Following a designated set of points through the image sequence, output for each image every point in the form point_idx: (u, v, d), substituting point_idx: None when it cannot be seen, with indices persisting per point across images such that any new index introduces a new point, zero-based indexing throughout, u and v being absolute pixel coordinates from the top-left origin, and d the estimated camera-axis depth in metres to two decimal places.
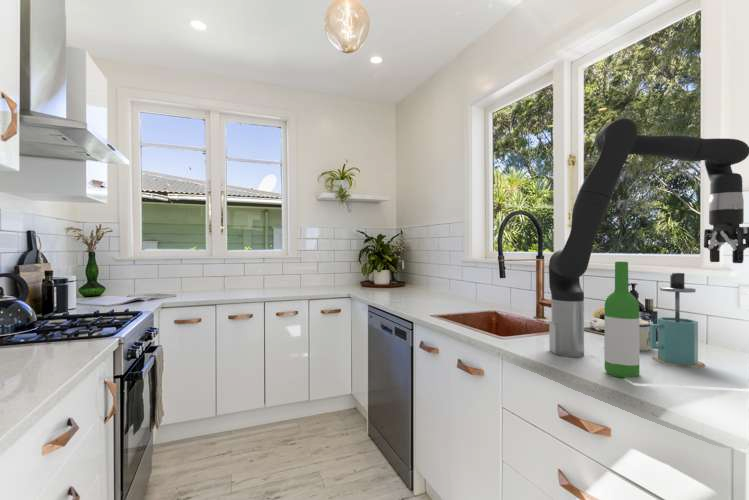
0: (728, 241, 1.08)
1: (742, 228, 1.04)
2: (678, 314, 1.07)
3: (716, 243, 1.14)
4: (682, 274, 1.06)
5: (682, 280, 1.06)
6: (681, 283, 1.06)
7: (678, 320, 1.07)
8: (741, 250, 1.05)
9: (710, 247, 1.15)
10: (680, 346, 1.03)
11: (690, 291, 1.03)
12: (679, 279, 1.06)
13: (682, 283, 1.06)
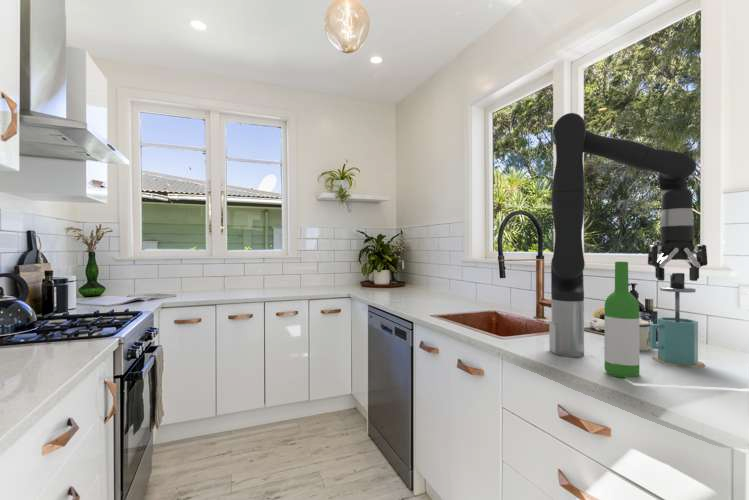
0: (693, 259, 1.05)
1: None
2: (678, 314, 1.07)
3: None
4: (682, 274, 1.06)
5: (682, 280, 1.06)
6: (681, 283, 1.06)
7: (678, 320, 1.07)
8: None
9: (663, 265, 1.07)
10: (680, 346, 1.03)
11: (690, 291, 1.03)
12: (679, 279, 1.06)
13: (682, 283, 1.06)
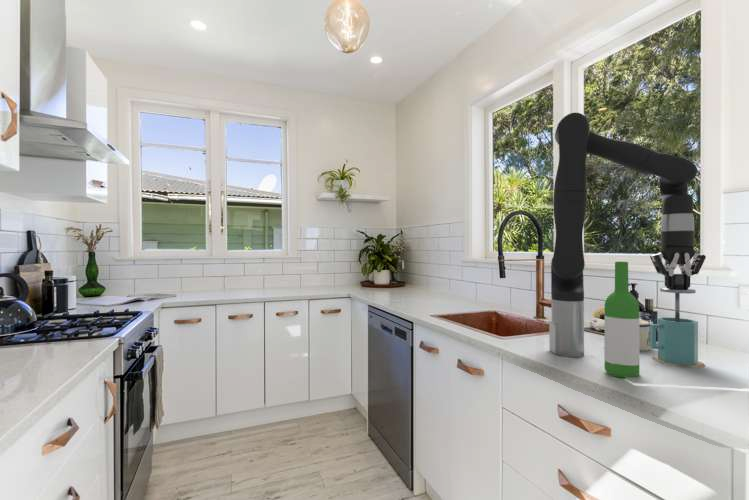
0: (688, 266, 1.05)
1: None
2: (678, 315, 1.07)
3: None
4: (682, 275, 1.06)
5: (682, 281, 1.06)
6: (681, 284, 1.06)
7: (678, 321, 1.07)
8: None
9: (672, 273, 1.06)
10: (680, 346, 1.03)
11: (690, 292, 1.03)
12: (679, 280, 1.06)
13: (682, 284, 1.06)
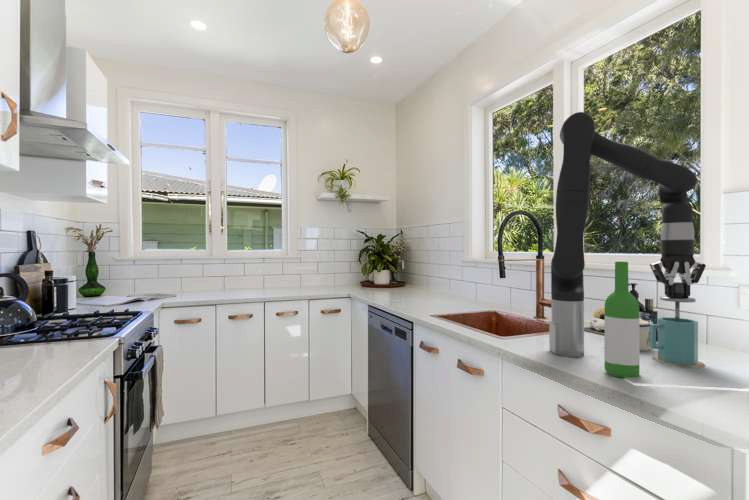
0: (688, 274, 1.05)
1: None
2: None
3: None
4: (682, 284, 1.06)
5: (682, 290, 1.06)
6: (681, 293, 1.06)
7: None
8: None
9: (672, 281, 1.06)
10: (680, 346, 1.03)
11: (690, 301, 1.03)
12: (679, 289, 1.06)
13: (682, 293, 1.06)
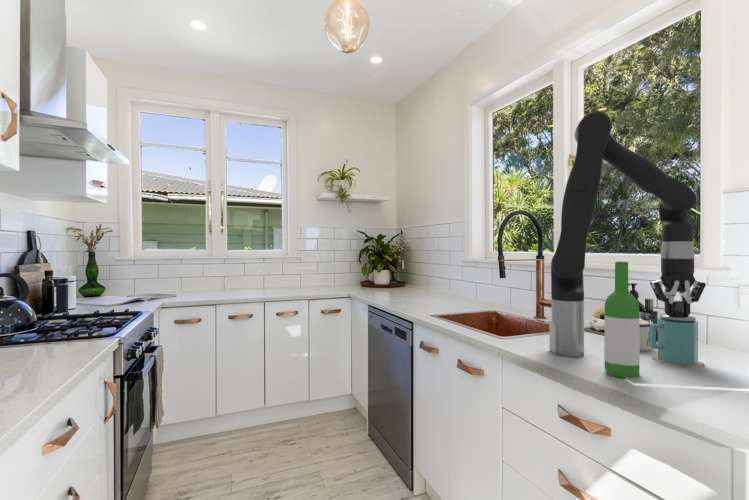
0: (688, 293, 1.05)
1: None
2: None
3: None
4: (682, 302, 1.06)
5: (682, 308, 1.06)
6: (681, 311, 1.06)
7: None
8: None
9: (672, 300, 1.06)
10: (680, 346, 1.03)
11: (690, 320, 1.03)
12: (679, 308, 1.06)
13: (682, 311, 1.06)
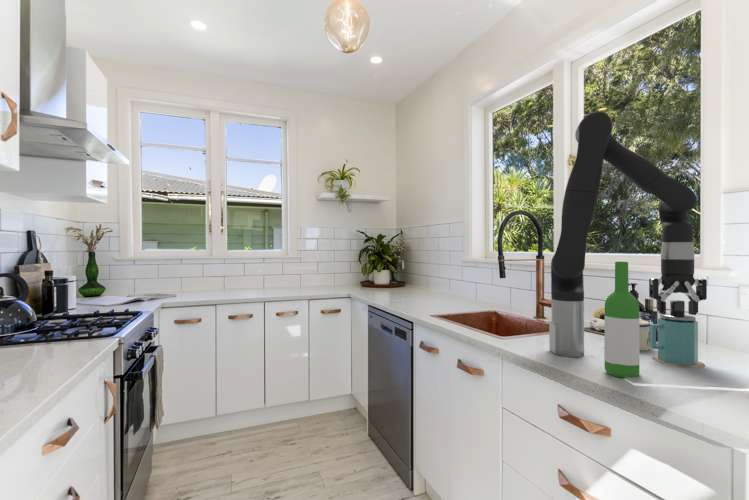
0: (692, 293, 1.05)
1: None
2: None
3: None
4: (682, 302, 1.06)
5: (682, 308, 1.06)
6: (681, 311, 1.06)
7: None
8: None
9: (664, 298, 1.07)
10: (680, 346, 1.03)
11: (690, 320, 1.03)
12: (679, 307, 1.06)
13: (682, 311, 1.06)
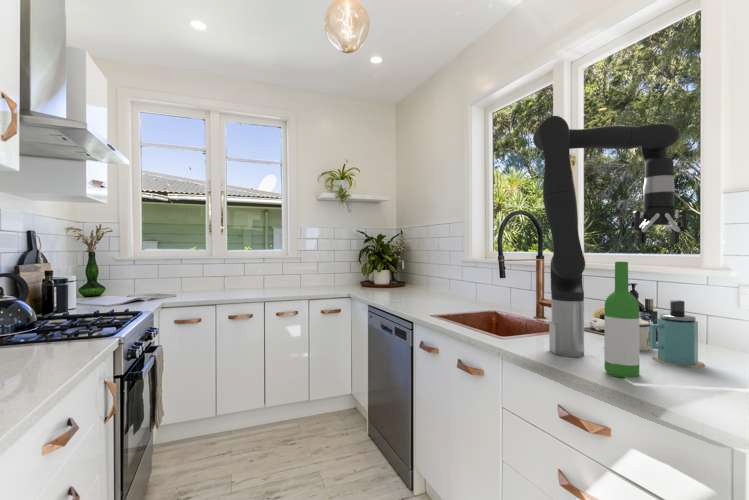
0: (673, 223, 1.11)
1: None
2: None
3: None
4: (682, 302, 1.06)
5: (682, 308, 1.06)
6: (681, 311, 1.06)
7: None
8: None
9: (645, 229, 1.13)
10: (680, 346, 1.03)
11: (690, 320, 1.03)
12: (679, 307, 1.06)
13: (682, 311, 1.06)
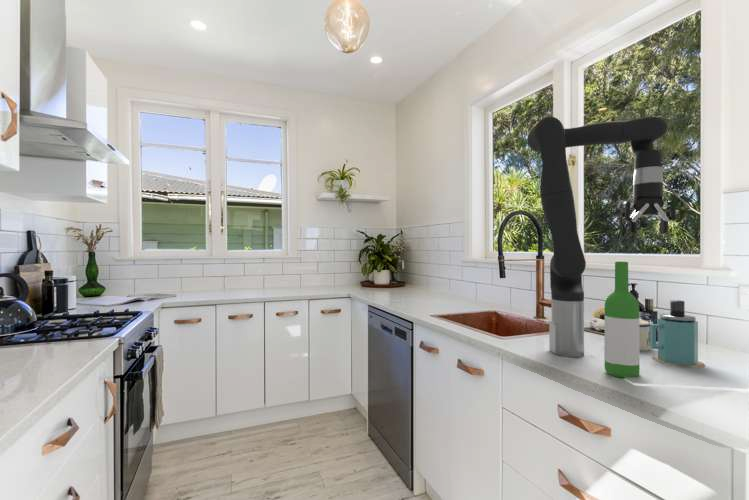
0: (662, 213, 1.14)
1: None
2: None
3: None
4: (682, 302, 1.06)
5: (682, 308, 1.06)
6: (681, 311, 1.06)
7: None
8: None
9: (635, 219, 1.16)
10: (680, 346, 1.03)
11: (690, 320, 1.03)
12: (679, 307, 1.06)
13: (682, 311, 1.06)
